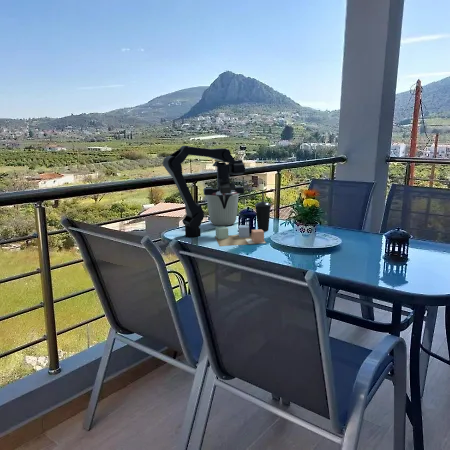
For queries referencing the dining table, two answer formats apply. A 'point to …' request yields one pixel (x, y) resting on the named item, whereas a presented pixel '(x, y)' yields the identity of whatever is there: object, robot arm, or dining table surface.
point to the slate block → (243, 231)
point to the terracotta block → (258, 235)
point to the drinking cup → (263, 214)
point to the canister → (218, 213)
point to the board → (236, 240)
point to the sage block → (222, 232)
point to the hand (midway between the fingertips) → (224, 208)
